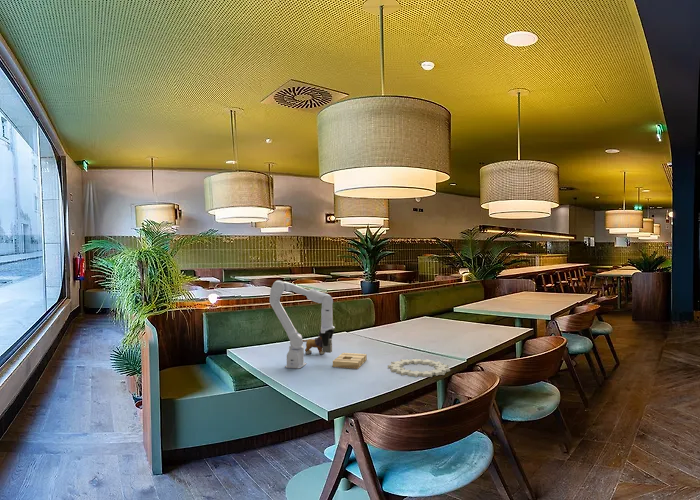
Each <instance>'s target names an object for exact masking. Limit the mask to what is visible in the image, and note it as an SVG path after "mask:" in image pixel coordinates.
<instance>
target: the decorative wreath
mask: <svg viewBox="0 0 700 500" xmlns="http://www.w3.org/2000/svg"><path fill="white" fill-rule="evenodd" d="M411 364H414V365H417V364H419V365H421V364H422V365H423V366H424V365H428V366H430V367H433V369H432V370H425V371H419V370H411V369H406V368H405V367H404V365H405V366H406V365H407V366H408V365H411ZM387 369H390V372H391V373H395V374H399V375H401V376H404V375H405V376H408V377H414V378H418V377H422V378H425V377H428V378H433V376H445V374H446V373H449V372H451V368H449V364H444V363H443V362H441V361H440V360H439V361H435V360H431V359H428V358H427V359H422V358H419V359H418V358H413V359H400V361H399V360H397V361H391V363H390V364H389V365H387Z"/></svg>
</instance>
